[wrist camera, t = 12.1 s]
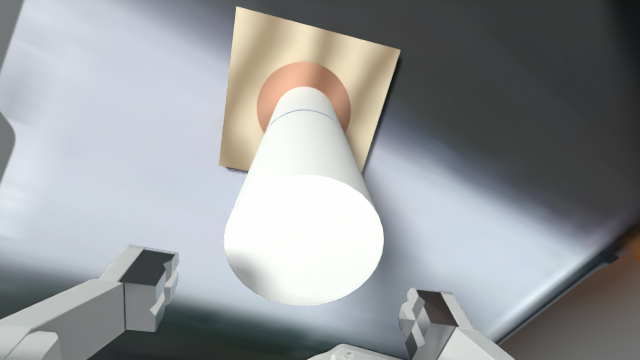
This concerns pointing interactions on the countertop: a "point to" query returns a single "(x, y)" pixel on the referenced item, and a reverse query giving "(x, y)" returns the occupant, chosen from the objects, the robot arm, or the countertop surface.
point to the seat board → (300, 81)
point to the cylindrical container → (304, 209)
